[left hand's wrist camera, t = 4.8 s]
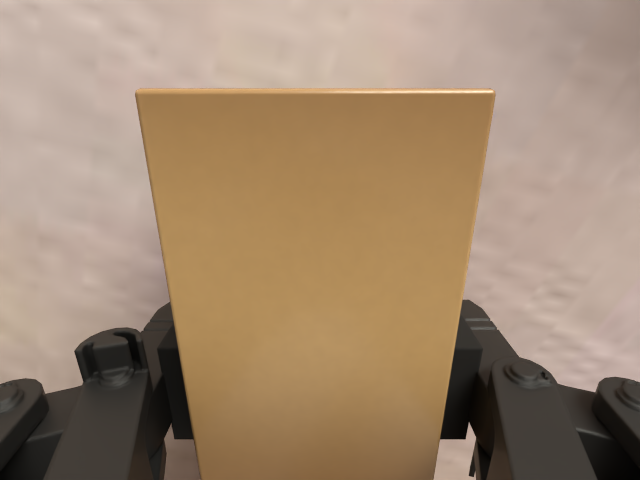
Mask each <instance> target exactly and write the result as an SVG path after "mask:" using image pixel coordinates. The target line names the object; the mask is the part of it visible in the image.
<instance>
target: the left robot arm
mask: <svg viewBox="0 0 640 480" xmlns="http://www.w3.org/2000/svg"><path fill="white" fill-rule="evenodd" d="M74 352H75V355H76V358H77V362H78V365H79V369H80V372H81V375H82V379H83V385H82V386H78V387H75V388H70V389H66V390H61V391H57V392H52V393H48V394H45V392H44V389H43V387H42V384H41V383H40V382H38V381H37V380H35V379H26V378H25V379H18V380H12V381H9V382H5V383H2V384H0V480H164V473H165V463H166V447H165V442H164V438H165V435H166V433H167V431H168V429H169V427H170V424H172V429H173V434H174V439H194V438H193V432H192V426H191V420H190V414H189V409H188V403H187V397H186V391H185V385H184V379H183V373H182V367H181V361H180V356H179V350H178V344H177V338H176V332H175V326H174V320H173V314H172V309H171V303H170V302H169V303H168V304H166V305H165V306H163V307H162V308H160V309H159V310H158V311H157V312H156V313H155V315H154V316H153V317H152V319H151V320H150V322H148V324H147V325H146V326H145V328H144V331H142V332H141V333H140V332H139V331H138V330H136V329H132V328H114V329H110V330H106V331H102V332H100V333H98V334H95V335H93V336H91V337H89V338H88V339H86V340H85V341H83V342H82V343H81V344H80V345H79V346H78V347H77V348H76V350H75V351H74ZM469 423H470V425H471V427H472V429H473V431H474V434H475V436H476V442H475V447H474V452H473V456H472V461H471V466H470V472H469V476H471V477H474V474H475V472H476V480H640V382H636V381H634V380H630V379H626V378H619V377H609V378H604V379H603V380H601V381H600V382H599V384H598V387H597V389H596V392H591V391H586V390H581V389H577V388H572V387H568V386H564V385H560V384H557V382H556V380H555V379H554V377H553V376H552V374H551V373H550V372H548V371H547V370H546V369H545V368H543V367H542V366H540V365H538V364H536V363H534V362H532V361H530V360H527V359H523V358H520V357H519V356H518V355H517V354H516V352H515V351H514V350H513V348H512V347H511V346H510V345H509V343H508V342H507V341H506V339H505V338H504V337H503V335H502V334H501V333H500V331H499V330H497V327H496V326H495V325H494V324H493V322H492V321H490V318H489V317H488V316H487V314H486V313H485V312H484V310H483V309H482V308H480V307H479V306H477V305H476V304H474V303H473V302H471V301H470V300H462V305H461V311H460V317H459V324H458V330H457V336H456V342H455V348H454V355H453V361H452V367H451V373H450V379H449V386H448V392H447V398H446V404H445V410H444V417H443V423H442V429H441V435H440V439H466V434H467V429H468V424H469Z"/></svg>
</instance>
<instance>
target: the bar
mask: <svg viewBox="0 0 640 480" xmlns="http://www.w3.org/2000/svg"><path fill="white" fill-rule="evenodd" d="M135 97H136V103H137V109H138V114H139V120H140V126H141V132H142V138H143V144H144V150H145V156H146V161H147V167H148V173H149V179H150V185H151V191H152V197H153V203H154V209H155V214H156V220H157V226H158V232H159V238H160V244H161V250H162V256H163V261H164V267H165V273H166V279H167V285H168V291H169V297H170V303H171V309H172V314H173V320H174V326H175V332H176V338H177V344H178V350H179V356H180V361H181V367H182V373H183V379H184V385H185V391H186V397H187V403H188V409H189V414H190V420H191V426H192V432H193V438H194V444H195V450H196V456H197V461H198V467H199V473H200V479H201V480H433V478H434V472H435V466H436V460H437V454H438V447H439V441H440V435H441V429H442V423H443V417H444V410H445V404H446V398H447V392H448V386H449V379H450V373H451V367H452V361H453V355H454V348H455V342H456V336H457V330H458V324H459V317H460V311H461V305H462V299H463V293H464V287H465V280H466V274H467V268H468V262H469V256H470V249H471V243H472V237H473V231H474V225H475V218H476V212H477V206H478V200H479V194H480V187H481V181H482V175H483V169H484V163H485V156H486V150H487V144H488V138H489V132H490V126H491V119H492V113H493V107H494V101H495V91H494V90H492V89H184V88H183V89H182V88H181V89H179V88H178V89H177V88H140V89H138V90H136V93H135Z"/></svg>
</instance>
